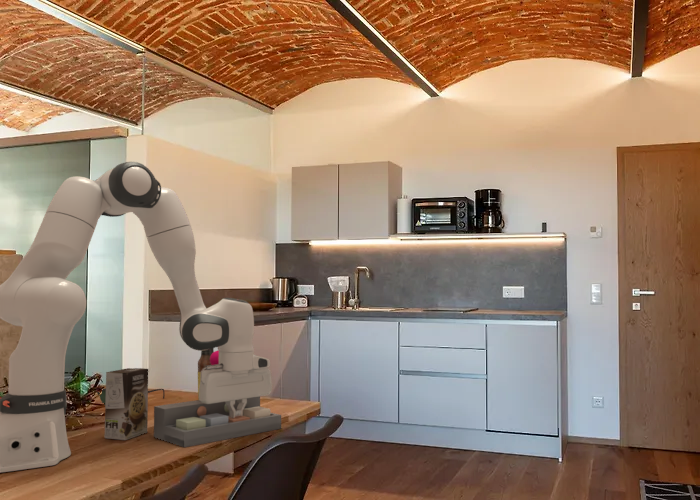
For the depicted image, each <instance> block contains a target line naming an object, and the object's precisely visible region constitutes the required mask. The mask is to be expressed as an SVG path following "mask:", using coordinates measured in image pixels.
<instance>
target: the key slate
mask: <svg viewBox="0 0 700 500" xmlns="http://www.w3.org/2000/svg"><path fill="white" fill-rule="evenodd" d="M200 418H201V419H204V420H206V426H208V427H209V426H214V425H220V424H226V423H228V416H226V415H222V414H218V413H215V414H209V415H203V416H200Z"/></svg>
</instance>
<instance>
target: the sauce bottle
mask: <svg viewBox="0 0 700 500" xmlns="http://www.w3.org/2000/svg"><path fill="white" fill-rule="evenodd" d="M214 349H215V348H211V349H208V350H204V351H200V357H199V359H198V361H197V398H198V399H197V400H199V387H200V381H201V380H200V374H201V371H202V369H203V368H205V367H206V366H207V365H211V363H210V356H211V354H212V353H213V352H215V351H214ZM205 370H206V369H205Z"/></svg>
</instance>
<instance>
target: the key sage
mask: <svg viewBox="0 0 700 500" xmlns="http://www.w3.org/2000/svg"><path fill="white" fill-rule="evenodd" d="M203 427H206V420H204V419H201V418H197V417H190V418H184V419H178V420H176V428H180V429H183V430H192V429H197V428H203Z"/></svg>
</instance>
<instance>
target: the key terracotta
mask: <svg viewBox="0 0 700 500" xmlns="http://www.w3.org/2000/svg"><path fill="white" fill-rule="evenodd" d="M249 419H250V417H246V416H242V417H238V418H230V416H228V423H231V422H237V421H243V420H249Z"/></svg>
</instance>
